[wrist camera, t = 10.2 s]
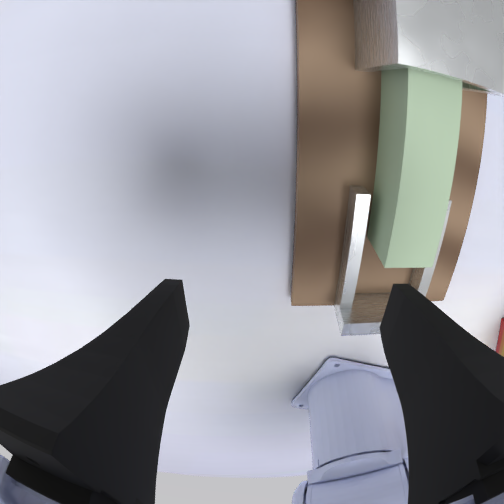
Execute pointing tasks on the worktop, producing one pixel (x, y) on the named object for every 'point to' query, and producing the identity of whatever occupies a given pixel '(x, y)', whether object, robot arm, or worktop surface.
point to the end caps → (428, 60)
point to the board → (356, 160)
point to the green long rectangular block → (414, 165)
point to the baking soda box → (501, 339)
